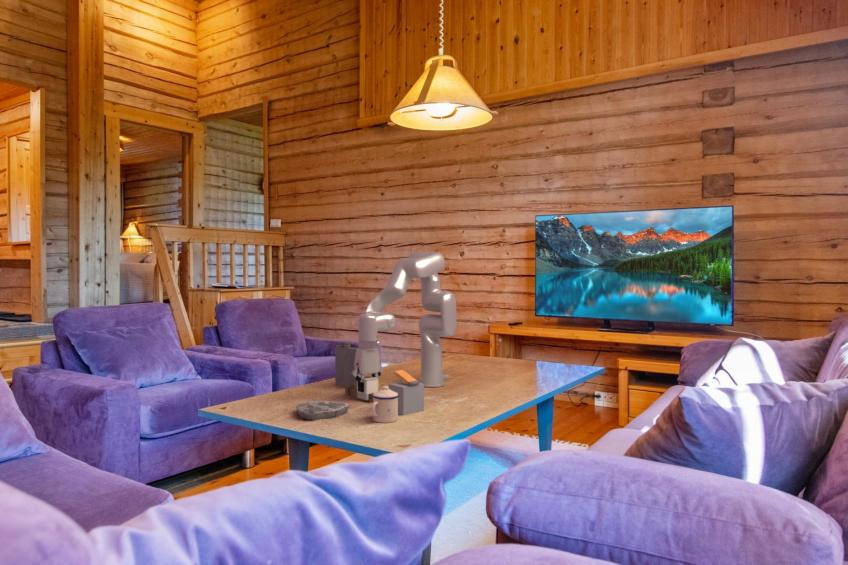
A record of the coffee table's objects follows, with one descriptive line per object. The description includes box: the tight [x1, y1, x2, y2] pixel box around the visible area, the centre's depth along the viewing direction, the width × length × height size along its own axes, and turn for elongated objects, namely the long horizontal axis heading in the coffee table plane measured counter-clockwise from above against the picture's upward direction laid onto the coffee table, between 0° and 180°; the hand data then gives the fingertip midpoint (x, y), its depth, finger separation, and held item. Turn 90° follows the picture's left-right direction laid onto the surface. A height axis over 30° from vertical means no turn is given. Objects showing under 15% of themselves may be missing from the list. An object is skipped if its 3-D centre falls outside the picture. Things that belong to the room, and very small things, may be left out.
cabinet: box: [388, 381, 425, 416], centre depth 218 cm, size 10×8×10 cm
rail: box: [344, 384, 373, 404], centre depth 232 cm, size 5×30×4 cm, turn 44°
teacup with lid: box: [370, 385, 399, 424], centre depth 204 cm, size 12×9×12 cm
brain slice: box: [295, 400, 351, 421], centre depth 212 cm, size 20×17×3 cm
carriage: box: [357, 375, 379, 400], centre depth 234 cm, size 6×6×8 cm
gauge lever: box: [393, 369, 420, 386], centre depth 218 cm, size 4×10×2 cm, turn 44°
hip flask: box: [334, 340, 358, 389], centre depth 259 cm, size 16×4×20 cm, turn 47°
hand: (367, 390), depth 234 cm, fingers closed on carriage, 5 cm apart
